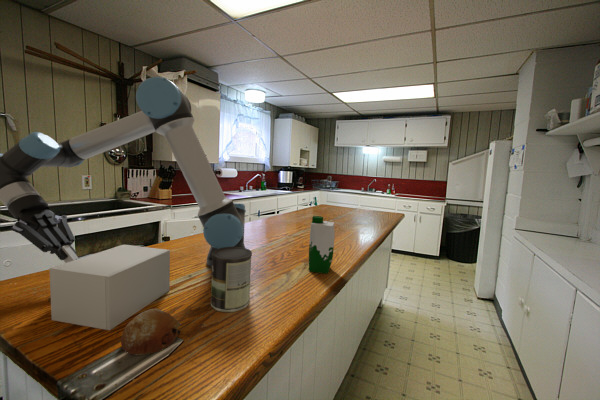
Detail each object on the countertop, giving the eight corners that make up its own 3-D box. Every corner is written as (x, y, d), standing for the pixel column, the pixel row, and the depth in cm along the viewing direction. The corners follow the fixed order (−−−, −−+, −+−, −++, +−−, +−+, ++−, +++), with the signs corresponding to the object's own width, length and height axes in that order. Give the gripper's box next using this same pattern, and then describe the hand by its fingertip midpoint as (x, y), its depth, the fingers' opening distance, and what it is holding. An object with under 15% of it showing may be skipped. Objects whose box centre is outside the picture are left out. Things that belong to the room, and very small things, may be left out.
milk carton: (309, 264, 106) (313, 214, 104) (332, 267, 105) (336, 216, 102) (305, 272, 98) (309, 218, 96) (330, 275, 96) (335, 220, 94)
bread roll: (147, 341, 61) (131, 310, 60) (190, 323, 61) (175, 292, 60) (122, 374, 51) (102, 338, 50) (173, 352, 51) (155, 316, 50)
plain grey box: (169, 290, 77) (169, 250, 76) (109, 330, 58) (108, 276, 56) (123, 283, 80) (123, 244, 78) (51, 319, 60) (49, 268, 59)
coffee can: (204, 311, 68) (205, 256, 66) (218, 292, 78) (219, 245, 76) (244, 314, 67) (247, 259, 66) (253, 295, 78) (255, 247, 76)
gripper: (42, 207, 82) (90, 266, 82) (-13, 214, 70) (43, 283, 69) (56, 191, 81) (105, 251, 80) (2, 195, 68) (60, 266, 67)
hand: (76, 266), depth 74 cm, fingers closed
